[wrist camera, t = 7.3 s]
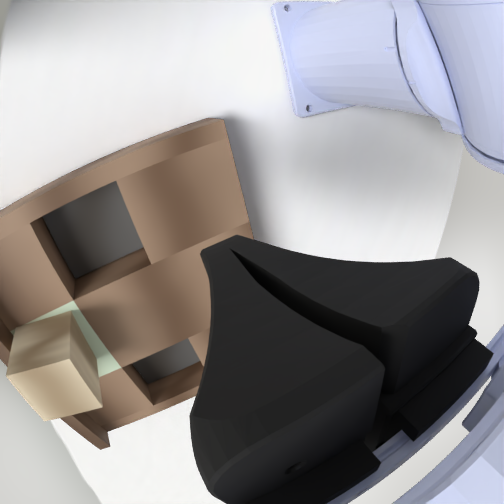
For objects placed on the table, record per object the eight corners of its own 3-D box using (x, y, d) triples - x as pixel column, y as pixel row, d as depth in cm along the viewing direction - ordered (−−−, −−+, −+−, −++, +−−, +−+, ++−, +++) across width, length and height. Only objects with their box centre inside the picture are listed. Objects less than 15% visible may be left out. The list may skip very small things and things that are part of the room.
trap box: (208, 117, 17) (235, 121, 14) (267, 334, 27) (291, 364, 23) (-40, 237, 13) (-65, 267, 9) (94, 412, 22) (100, 449, 19)
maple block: (70, 310, 15) (69, 358, 12) (96, 358, 17) (102, 407, 14) (15, 327, 14) (6, 376, 11) (45, 373, 16) (44, 421, 13)
